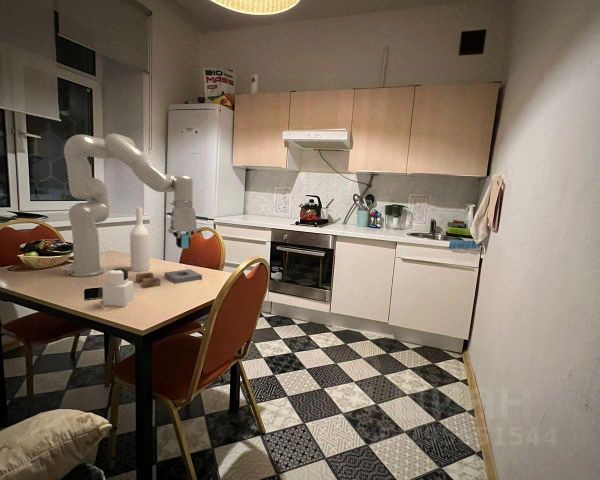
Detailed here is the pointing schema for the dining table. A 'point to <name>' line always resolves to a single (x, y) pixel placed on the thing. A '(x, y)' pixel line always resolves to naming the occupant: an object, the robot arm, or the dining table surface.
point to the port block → (182, 276)
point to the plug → (184, 241)
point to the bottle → (139, 244)
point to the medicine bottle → (118, 288)
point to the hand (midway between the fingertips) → (183, 246)
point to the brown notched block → (147, 280)
